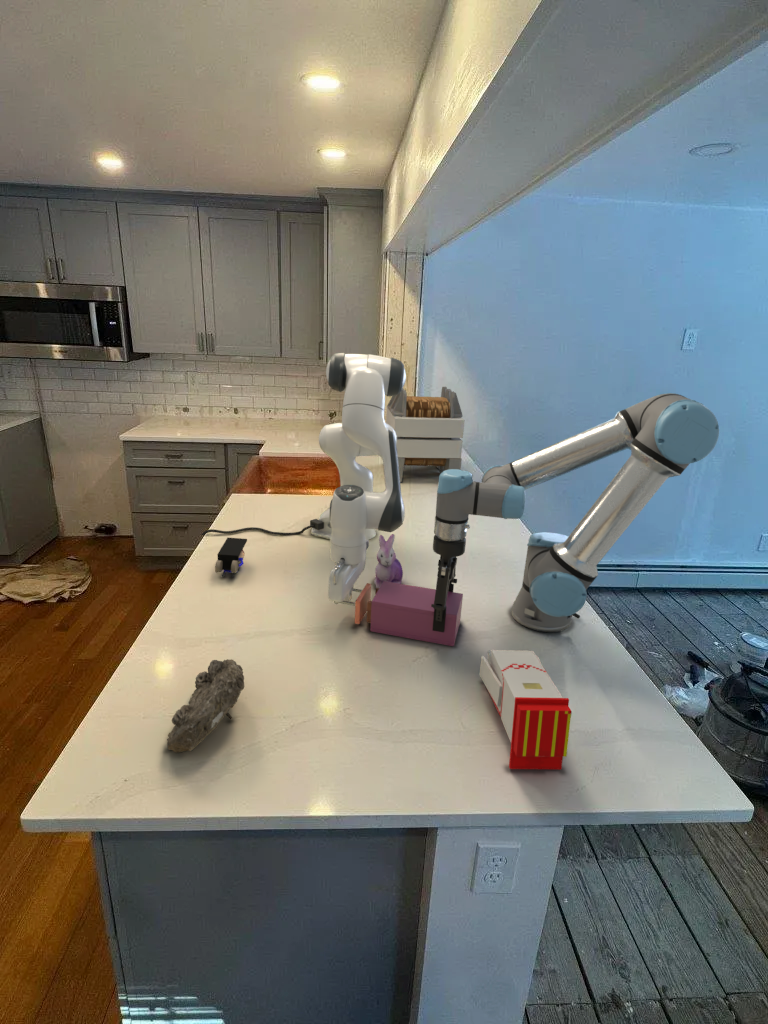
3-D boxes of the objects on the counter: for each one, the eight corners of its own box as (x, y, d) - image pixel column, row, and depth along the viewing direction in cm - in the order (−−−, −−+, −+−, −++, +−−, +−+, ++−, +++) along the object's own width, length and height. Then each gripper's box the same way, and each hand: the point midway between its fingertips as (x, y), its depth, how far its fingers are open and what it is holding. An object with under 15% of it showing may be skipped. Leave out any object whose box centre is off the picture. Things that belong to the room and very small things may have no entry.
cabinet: (370, 631, 139) (371, 601, 136) (382, 609, 149) (383, 580, 146) (453, 646, 134) (456, 615, 131) (460, 622, 145) (463, 593, 142)
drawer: (331, 619, 141) (332, 596, 139) (344, 600, 151) (345, 579, 149) (431, 637, 136) (433, 614, 134) (438, 616, 145) (440, 594, 143)
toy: (530, 632, 124) (581, 706, 94) (525, 688, 126) (573, 777, 97) (475, 631, 123) (509, 705, 94) (471, 687, 126) (503, 777, 96)
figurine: (381, 594, 157) (383, 544, 152) (365, 579, 165) (367, 531, 160) (411, 588, 161) (414, 539, 156) (393, 573, 169) (396, 527, 164)
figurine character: (238, 584, 162) (249, 557, 175) (236, 562, 158) (247, 536, 172) (215, 584, 161) (227, 556, 175) (212, 561, 158) (225, 535, 171)
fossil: (192, 660, 117) (244, 628, 112) (224, 691, 120) (276, 661, 115) (142, 746, 98) (202, 712, 93) (182, 779, 101) (242, 748, 96)
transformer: (382, 463, 289) (386, 382, 275) (445, 464, 293) (451, 384, 279) (390, 482, 257) (394, 392, 243) (460, 483, 261) (468, 394, 247)
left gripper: (347, 570, 130) (346, 623, 134) (370, 538, 148) (369, 585, 153) (321, 566, 131) (321, 618, 136) (347, 535, 150) (346, 582, 154)
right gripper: (459, 558, 120) (450, 646, 127) (471, 521, 142) (463, 598, 149) (424, 553, 122) (417, 640, 129) (442, 517, 143) (435, 594, 151)
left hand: (346, 600), depth 145 cm, fingers closed, pressing on drawer
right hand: (442, 618), depth 139 cm, fingers closed on cabinet, 11 cm apart
